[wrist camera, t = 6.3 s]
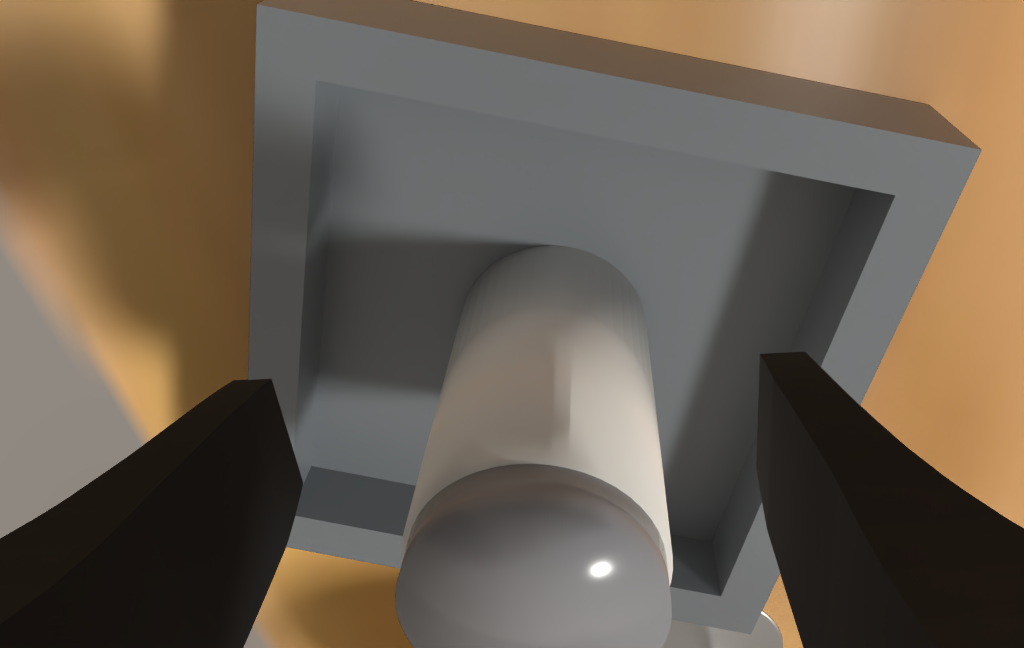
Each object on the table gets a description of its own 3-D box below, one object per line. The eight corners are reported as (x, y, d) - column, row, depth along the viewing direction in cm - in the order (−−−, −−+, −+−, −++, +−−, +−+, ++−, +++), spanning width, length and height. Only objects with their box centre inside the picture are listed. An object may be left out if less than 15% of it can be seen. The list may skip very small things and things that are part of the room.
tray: (929, 104, 19) (981, 149, 17) (735, 553, 26) (750, 634, 24) (302, -22, 19) (256, 4, 16) (278, 467, 26) (244, 539, 23)
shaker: (620, 224, 20) (639, 475, 12) (664, 384, 22) (705, 686, 14) (435, 272, 21) (344, 532, 13) (494, 421, 23) (446, 722, 15)
